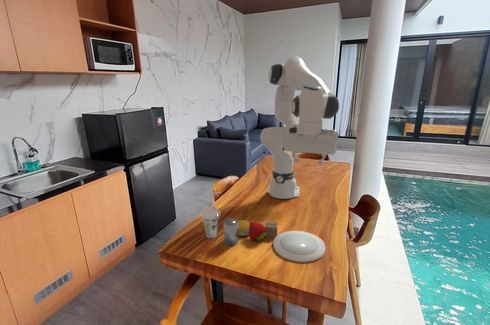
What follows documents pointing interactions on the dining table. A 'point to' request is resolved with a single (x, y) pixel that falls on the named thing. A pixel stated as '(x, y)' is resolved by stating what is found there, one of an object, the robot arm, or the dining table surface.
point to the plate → (299, 246)
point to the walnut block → (271, 229)
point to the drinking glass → (230, 231)
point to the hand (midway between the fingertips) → (308, 163)
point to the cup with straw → (210, 218)
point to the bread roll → (243, 228)
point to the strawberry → (256, 231)
